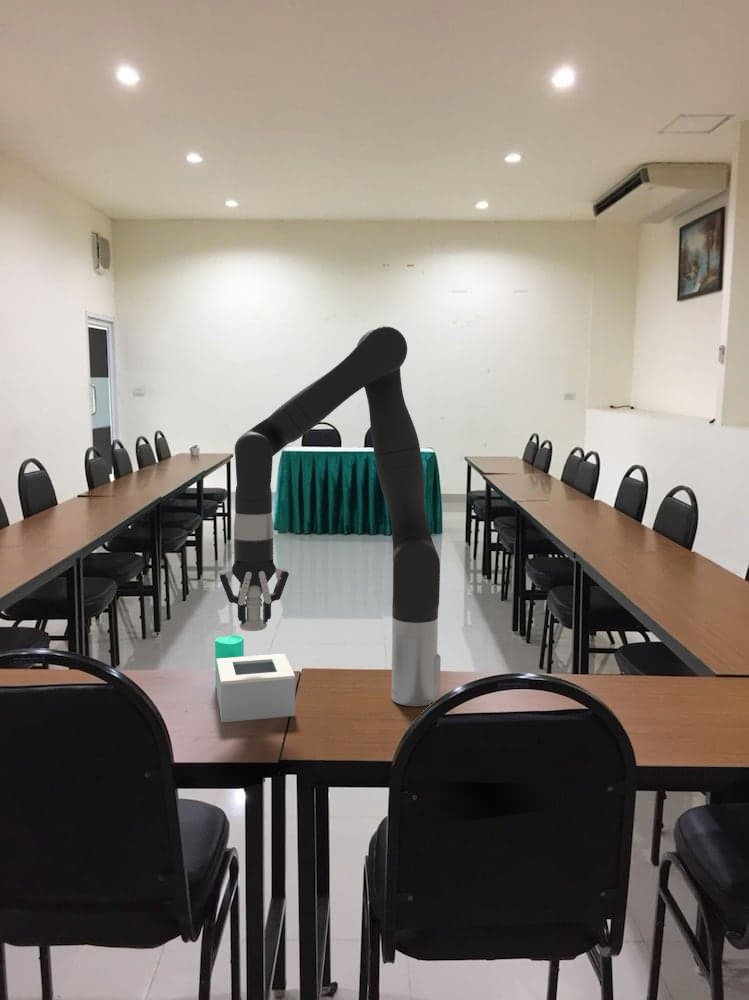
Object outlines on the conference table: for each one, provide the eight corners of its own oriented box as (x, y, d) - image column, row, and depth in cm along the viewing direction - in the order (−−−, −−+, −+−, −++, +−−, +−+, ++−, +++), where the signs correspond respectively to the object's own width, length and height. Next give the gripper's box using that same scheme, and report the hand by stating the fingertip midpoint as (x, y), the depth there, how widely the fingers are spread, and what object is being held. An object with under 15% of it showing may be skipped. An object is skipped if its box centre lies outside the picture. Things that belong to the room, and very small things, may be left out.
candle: (245, 681, 168) (245, 627, 167) (242, 691, 162) (241, 635, 161) (218, 681, 168) (217, 627, 167) (213, 691, 162) (212, 635, 161)
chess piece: (272, 628, 152) (272, 583, 151) (249, 633, 148) (249, 587, 147) (256, 622, 156) (256, 578, 155) (234, 627, 152) (233, 582, 151)
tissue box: (284, 690, 163) (284, 653, 162) (295, 715, 150) (295, 675, 149) (217, 696, 160) (216, 658, 159) (221, 722, 146) (220, 681, 145)
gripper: (287, 531, 156) (287, 615, 158) (215, 533, 152) (216, 619, 154) (293, 537, 149) (293, 625, 151) (218, 540, 145) (219, 629, 147)
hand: (254, 621), depth 152 cm, fingers closed on chess piece, 3 cm apart
